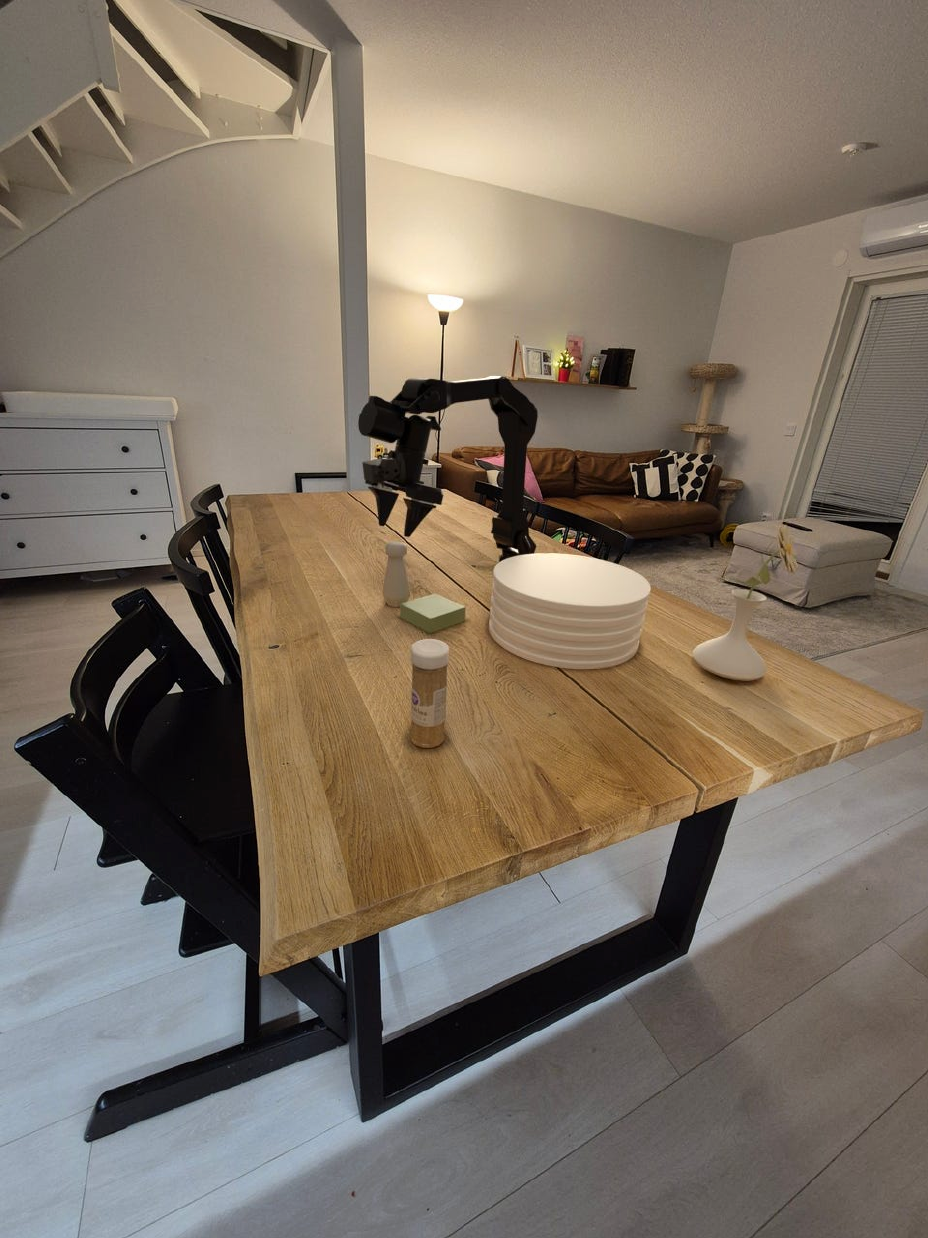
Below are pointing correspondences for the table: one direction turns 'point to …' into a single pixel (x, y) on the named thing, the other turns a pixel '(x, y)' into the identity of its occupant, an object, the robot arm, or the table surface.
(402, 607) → the green block
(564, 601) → the plate stack
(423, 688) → the sprinkles bottle
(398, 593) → the salt shaker
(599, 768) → the table surface
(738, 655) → the flower in vase
